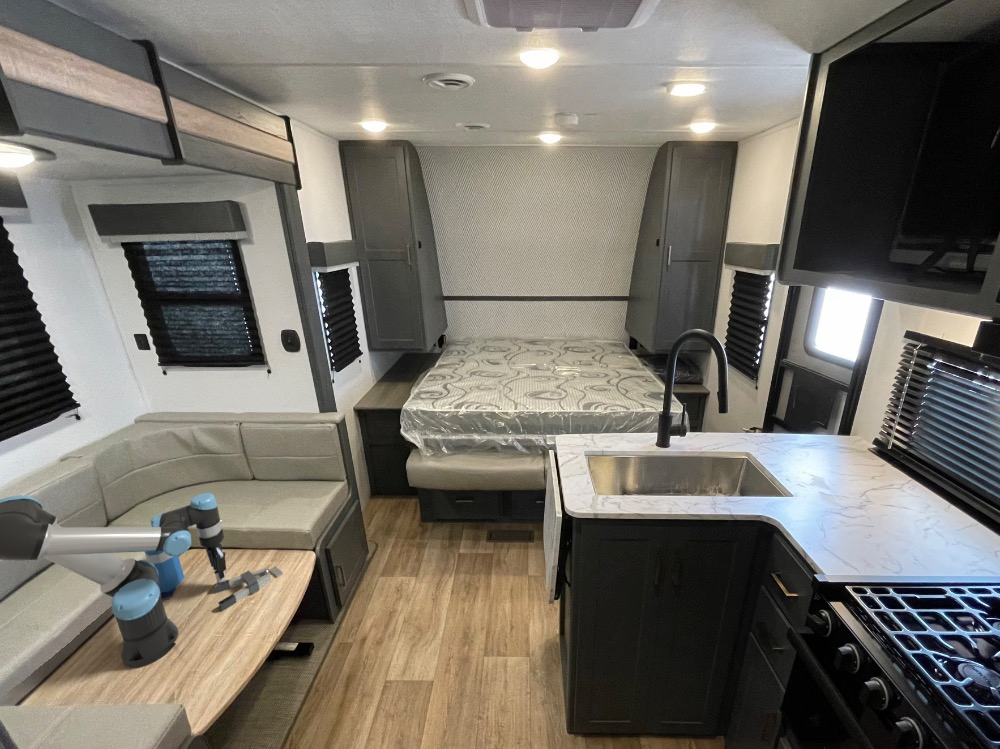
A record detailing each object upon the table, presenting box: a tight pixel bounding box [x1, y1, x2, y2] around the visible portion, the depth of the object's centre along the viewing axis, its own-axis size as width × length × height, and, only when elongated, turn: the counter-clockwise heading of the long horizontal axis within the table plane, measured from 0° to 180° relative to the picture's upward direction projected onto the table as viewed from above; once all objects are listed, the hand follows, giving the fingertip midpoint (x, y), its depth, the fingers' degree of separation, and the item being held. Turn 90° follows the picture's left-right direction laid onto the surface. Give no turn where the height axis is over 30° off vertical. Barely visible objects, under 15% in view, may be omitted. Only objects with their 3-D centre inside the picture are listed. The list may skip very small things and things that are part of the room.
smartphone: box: [161, 588, 176, 602], centre depth 168 cm, size 7×1×15 cm
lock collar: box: [239, 570, 261, 596], centre depth 166 cm, size 3×7×6 cm, turn 54°
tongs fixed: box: [217, 566, 284, 612], centre depth 166 cm, size 23×6×3 cm, turn 144°
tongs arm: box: [213, 567, 271, 594], centre depth 168 cm, size 19×4×4 cm, turn 118°
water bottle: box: [144, 551, 185, 593], centre depth 167 cm, size 9×9×25 cm
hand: (222, 583), depth 168 cm, fingers closed
